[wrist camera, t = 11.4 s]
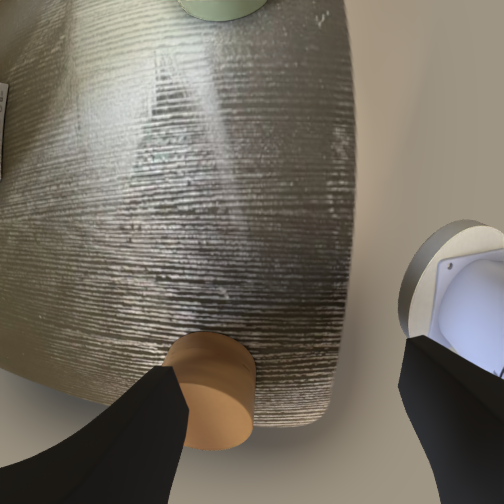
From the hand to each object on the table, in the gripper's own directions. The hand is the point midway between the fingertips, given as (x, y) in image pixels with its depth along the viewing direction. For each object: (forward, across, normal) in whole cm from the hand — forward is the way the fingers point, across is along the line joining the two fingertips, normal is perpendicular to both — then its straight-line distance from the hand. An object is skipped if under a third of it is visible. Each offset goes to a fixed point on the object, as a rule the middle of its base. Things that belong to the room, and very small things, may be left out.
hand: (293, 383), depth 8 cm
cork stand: (+10, +6, +8) cm, 14 cm away
